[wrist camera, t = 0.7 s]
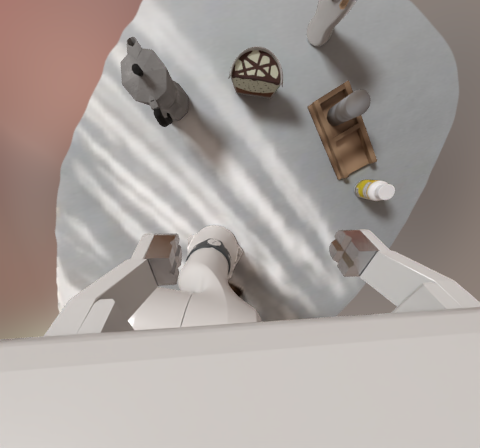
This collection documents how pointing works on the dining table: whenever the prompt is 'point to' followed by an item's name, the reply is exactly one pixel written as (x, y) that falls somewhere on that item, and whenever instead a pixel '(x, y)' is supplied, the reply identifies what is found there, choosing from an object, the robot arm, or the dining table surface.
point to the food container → (256, 73)
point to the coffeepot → (152, 84)
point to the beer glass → (327, 19)
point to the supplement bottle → (374, 190)
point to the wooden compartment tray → (343, 128)
